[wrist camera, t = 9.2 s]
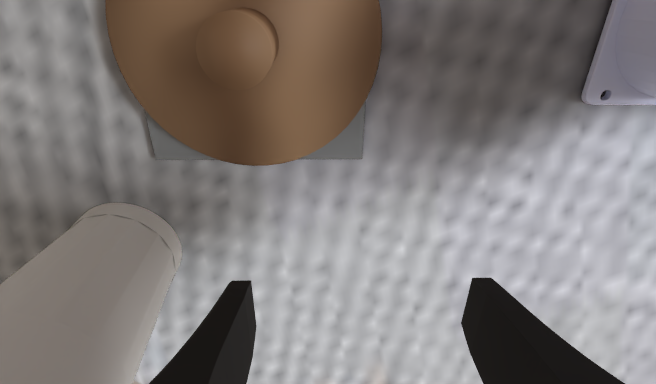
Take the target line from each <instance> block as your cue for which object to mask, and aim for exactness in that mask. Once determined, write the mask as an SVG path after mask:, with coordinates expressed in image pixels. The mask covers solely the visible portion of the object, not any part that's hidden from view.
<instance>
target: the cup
mask: <svg viewBox="0 0 656 384" xmlns="http://www.w3.org/2000/svg"><path fill="white" fill-rule="evenodd" d="M181 260H182V247H181V243H180V240H179V238H178V236H177V234H176V233H175V231H174V230H173V229H172V227H171V226H170V225H169V224H168V223H167V222H166V221H165V220H164V219H162V218H161V217H160V216H158V215H157V214H155V213H153V212H152V211H150V210H148V209H145V208H143V207H140V206H137V205H133V204H128V203H106V204H101V205H98V206H96V207H93V208H91V209H90V210H88V211H87V212H86V213H84V214H83V215H82V216H81V217H80V218H79V219H78V220H77V221H76V222H75V223H74V224H73V225H72V226H71V227H70V228H69V229H68V230H67V231H66V232H65V233H64V234H62V235H61V236H60V237H59V238H57V239H56V240H55V241H54V242H52V243H51V244H50V245H49V246H47V247H46V248H45V249H44V250H42V251H41V252H40V253H39V254H37V255H36V256H35V257H34V258H32V259H31V260H30V261H29V262H27V263H26V264H25V265H24V266H22V267H21V268H20V269H19V270H17V271H16V272H15V273H14V274H12V275H11V276H10V277H9V278H7V279H6V280H5V281H4V282H2V283H1V284H0V384H133V381H134V379H135V376H136V373H137V371H138V368H139V365H140V363H141V360H142V358H143V355H144V352H145V350H146V347H147V344H148V342H149V339H150V336H151V334H152V331H153V329H154V326H155V323H156V321H157V318H158V315H159V313H160V310H161V307H162V305H163V302H164V300H165V297H166V294H167V292H168V289H169V286H170V284H171V282H172V280H173V278H174V276H175V274H176V272H177V270H178V268H179V266H180V263H181Z"/></svg>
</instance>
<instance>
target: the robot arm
mask: <svg viewBox="0 0 656 384" xmlns="http://www.w3.org/2000/svg"><path fill="white" fill-rule="evenodd" d="M605 90H606V94H605V95H604V97H602V98H600V97H601V94H602V92H604V91H605ZM581 98H582V101H584V102H585V103H587V104H590V105H656V0H612V3H611V7H610V10H609V13H608V16H607V19H606V22H605V25H604V28H603V31H602V34H601V37H600V40H599V43H598V46H597V49H596V52H595V55H594V58H593V61H592V64H591V67H590V70H589V73H588V76H587V80H586V83H585V86H584V89H583V92H582V96H581ZM461 324H462V327H463V331H464V334H465V338H466V341H467V344H468V347H469V351H470V354H471V356H472V358H473V361H474V363H475V365H476V368H477V370H478V372H479V375H480V377H481V379H482V381H483V384H625V383H623V382H622V381H620V380H618V379H617V378H616V377H614V376H613V375H611V374H610V373H608V372H607V371H605V370H604V369H602V368H601V367H600V366H598V365H597V364H595V363H594V362H592V361H591V360H590V359H588V358H587V357H586V356H584V355H583V354H581V353H580V352H579V351H578V350H576V349H575V348H574V347H572V346H571V345H570V344H568V343H567V342H566V341H565V340H563V339H562V338H561V337H560V336H558V335H557V334H556V333H555V332H553V331H552V330H551V329H550V328H548V327H547V326H546V325H545V324H544V323H542V322H541V321H540V320H539V319H538V318H537V317H535V316H534V315H533V314H532V313H531V312H530V311H528V310H527V309H526V308H525V307H524V306H523V305H522V304H520V303H519V302H518V301H517V300H516V299H515V298H514V297H513V296H511V295H510V294H509V293H508V292H507V291H506V290H505V289H503V288H502V287H501V286H500V285H499V284H498V283H497V282H495V281H494V280H493V279H492V278H472V282H471V286H470V290H469V294H468V298H467V302H466V306H465V310H464V314H463V318H462V322H461ZM255 332H256V320H255V311H254V303H253V294H252V286H251V281H231V282H230V283H229V284H228V286H227V287H226V289H225V290H224V292H223V293H222V295H221V296H220V298H219V299H218V301H217V302H216V304H215V305H214V307H213V308H212V309H211V311H210V312H209V314H208V315H207V316H206V318H205V319H204V320H203V322H202V323H201V324H200V326H199V327H198V328H197V330H196V331H195V332H194V333H193V335H192V336H191V337H190V338H189V340H188V341H187V342H186V343H185V344H184V346H183V347H182V348H181V349H180V350H179V352H178V353H177V354H176V355H175V356H174V357H173V359H172V360H171V361H170V362H169V363H168V364H167V365H166V366H165V367H164V369H163V370H162V371H161V372H160V373H159V374H158V375H157V376H156V377H155V378H154V379H153V380H152V381H151V382H150V383H149V384H246V383H247V379H248V374H249V370H250V366H251V361H252V357H253V349H254V341H255Z"/></svg>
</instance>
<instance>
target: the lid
mask: <svg viewBox="0 0 656 384" xmlns="http://www.w3.org/2000/svg"><path fill="white" fill-rule="evenodd" d="M105 2H106V20H107V27H108V34H109V38H110V42H111V46H112V49H113V53H114V56H115V58H116V61H117V63H118V66H119V68H120V71H121V73H122V75H123V77H124V79H125V81H126V83H127V84H128V86H129V88H130V90H131V91H132V93H133V94H134V96H135V97H136V99H137V100H138V102H139V103H140V104H141V105H142V107H143V108H144V109H145V110H146V111H147V113H148V114H149V115H150V116H151V117H152V118H153V119H154V120H155V121H156V122H157V123H158V124H159V125H160V126H161V127H162V128H163V129H164V130H166V131H167V132H168V133H169V134H171V135H172V136H173V137H175V138H176V139H177V140H179V141H180V142H182V143H184V144H185V145H187V146H189V147H190V148H192V149H194V150H196V151H198V152H200V153H202V154H205V155H207V156H210V157H212V158H215V159H218V160H221V161H225V162H230V163H235V164H242V165H252V166H258V165H273V164H281V163H285V162H289V161H293V160H296V159H299V158H301V157H304V156H306V155H309V154H311V153H313V152H315V151H316V150H318V149H320V148H322V147H324V146H325V145H326V144H328V143H329V142H330V141H332V140H333V139H334V138H336V137H337V136H338V135H339V134H340V133H341V132H342V131H343V130H344V129H345V128H346V127H347V126H348V125H349V124H350V122H351V121H352V120H353V119H354V117H355V116H356V115H357V113H358V112H359V110H360V109H361V107H362V105H363V104H364V102H365V100H366V98H367V96H368V94H369V92H370V89H371V87H372V85H373V82H374V79H375V75H376V72H377V69H378V64H379V59H380V53H381V42H382V23H381V10H380V5H379V0H105Z"/></svg>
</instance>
